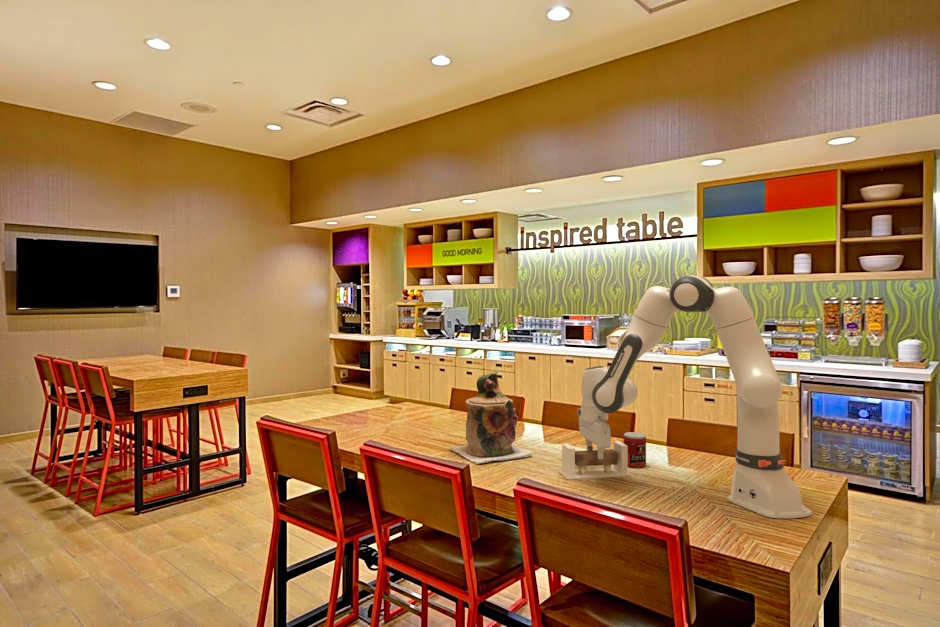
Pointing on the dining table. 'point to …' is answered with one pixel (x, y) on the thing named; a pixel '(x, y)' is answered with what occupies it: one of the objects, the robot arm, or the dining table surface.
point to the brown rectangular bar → (595, 458)
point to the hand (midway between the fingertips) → (594, 454)
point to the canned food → (636, 449)
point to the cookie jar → (490, 425)
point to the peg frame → (583, 473)
